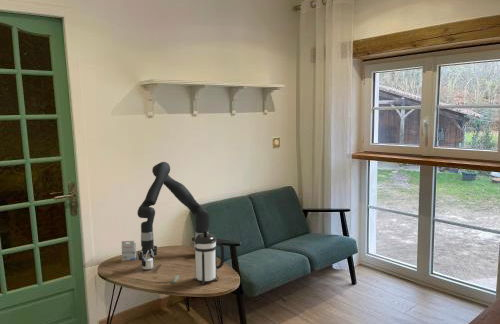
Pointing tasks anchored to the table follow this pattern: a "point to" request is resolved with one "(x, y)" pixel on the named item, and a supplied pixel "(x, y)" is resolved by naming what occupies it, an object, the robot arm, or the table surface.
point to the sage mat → (170, 282)
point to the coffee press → (206, 257)
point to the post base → (152, 270)
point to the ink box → (128, 250)
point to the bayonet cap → (148, 263)
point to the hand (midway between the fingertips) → (148, 264)
